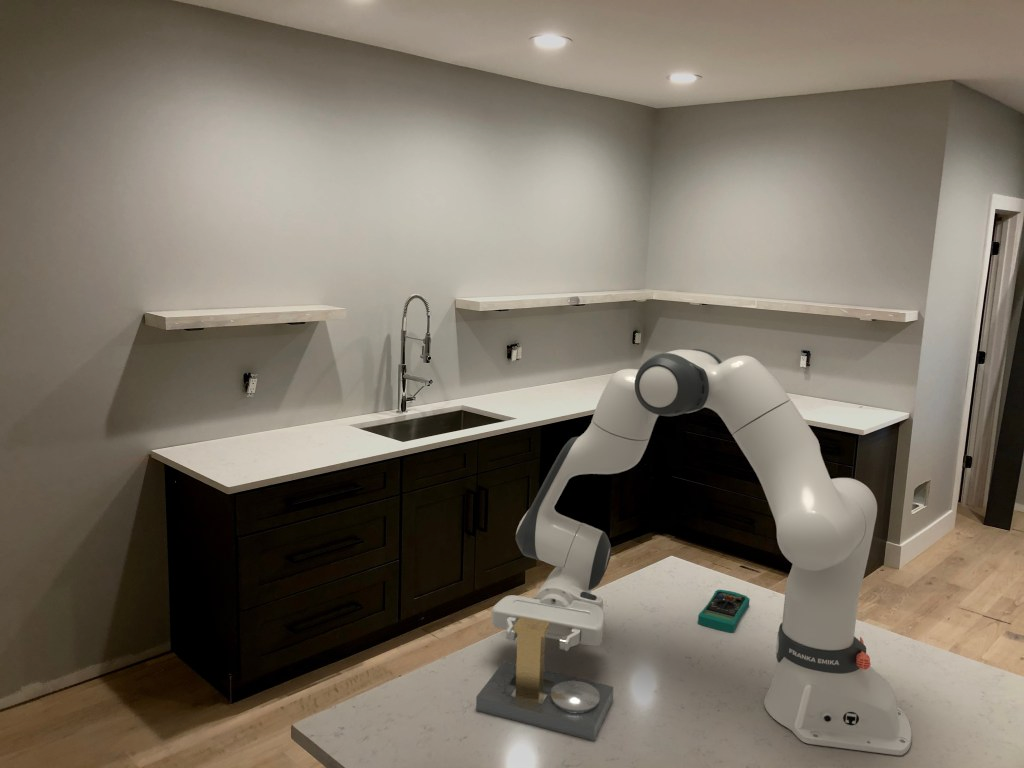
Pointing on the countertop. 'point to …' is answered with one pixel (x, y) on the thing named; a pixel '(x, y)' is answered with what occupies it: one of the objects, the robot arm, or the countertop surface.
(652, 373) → the robot arm
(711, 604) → the digital multimeter
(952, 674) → the countertop surface
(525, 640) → the wedge pin
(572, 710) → the gray socket block
